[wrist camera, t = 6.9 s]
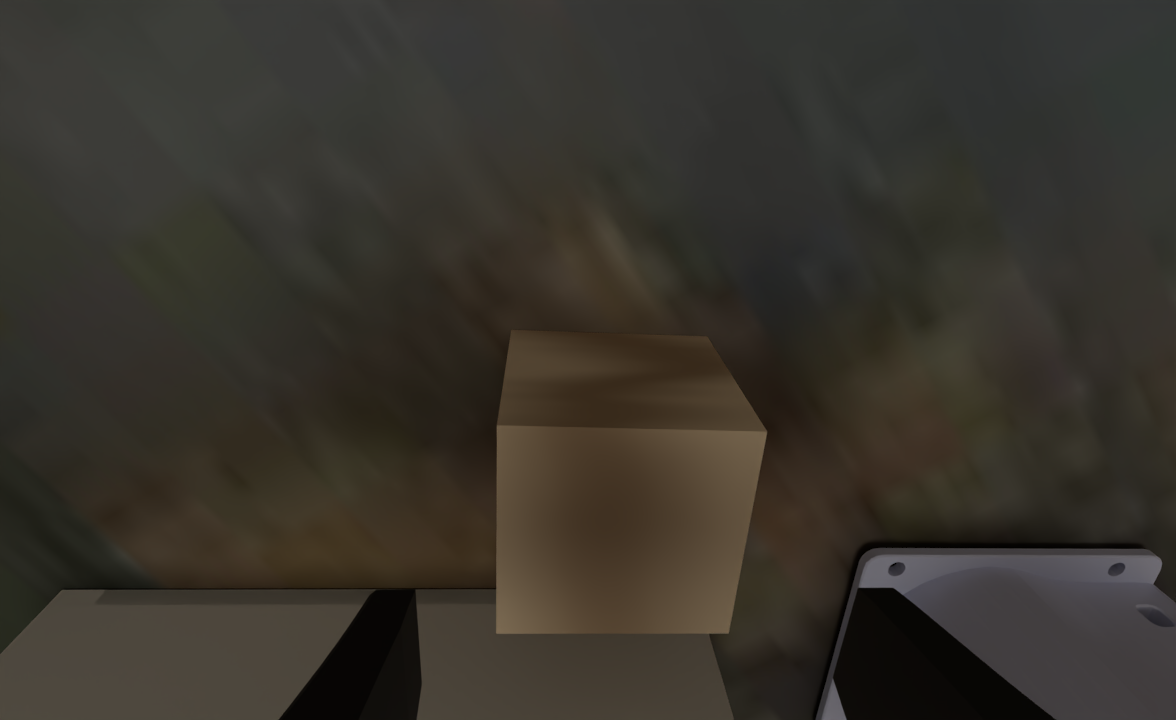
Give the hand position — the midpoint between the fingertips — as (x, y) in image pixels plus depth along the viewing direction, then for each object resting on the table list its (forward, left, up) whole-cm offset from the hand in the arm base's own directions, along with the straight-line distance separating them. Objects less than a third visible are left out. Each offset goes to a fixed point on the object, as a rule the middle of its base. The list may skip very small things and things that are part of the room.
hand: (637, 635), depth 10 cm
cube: (0, 0, -8) cm, 8 cm away
